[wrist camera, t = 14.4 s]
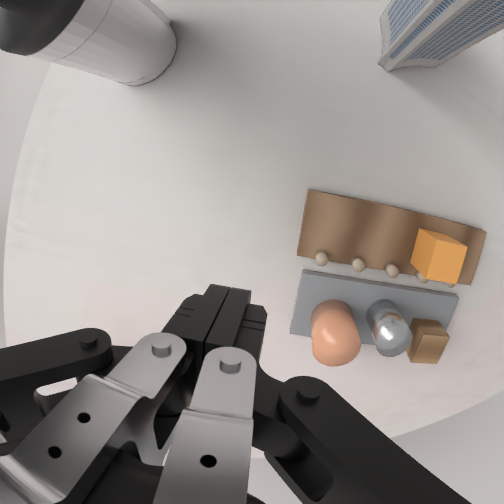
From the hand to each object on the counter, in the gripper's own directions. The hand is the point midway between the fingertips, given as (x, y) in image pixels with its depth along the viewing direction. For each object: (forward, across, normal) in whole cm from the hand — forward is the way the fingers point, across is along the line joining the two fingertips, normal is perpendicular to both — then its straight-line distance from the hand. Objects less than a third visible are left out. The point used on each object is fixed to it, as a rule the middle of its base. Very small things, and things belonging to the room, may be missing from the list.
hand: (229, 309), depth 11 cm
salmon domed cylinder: (+21, -9, +12) cm, 26 cm away
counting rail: (+22, -15, +1) cm, 27 cm away
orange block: (+21, -18, +1) cm, 27 cm away
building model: (+23, -12, -21) cm, 34 cm away
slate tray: (+22, -15, +11) cm, 29 cm away
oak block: (+21, -21, +12) cm, 32 cm away
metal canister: (+21, -15, +10) cm, 28 cm away
